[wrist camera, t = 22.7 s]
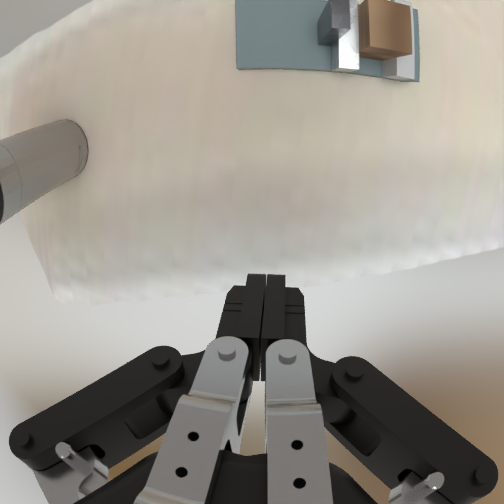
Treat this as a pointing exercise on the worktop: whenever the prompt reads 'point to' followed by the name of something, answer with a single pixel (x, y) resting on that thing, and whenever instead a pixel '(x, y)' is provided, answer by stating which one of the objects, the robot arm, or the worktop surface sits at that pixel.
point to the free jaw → (340, 34)
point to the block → (384, 30)
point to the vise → (305, 40)
